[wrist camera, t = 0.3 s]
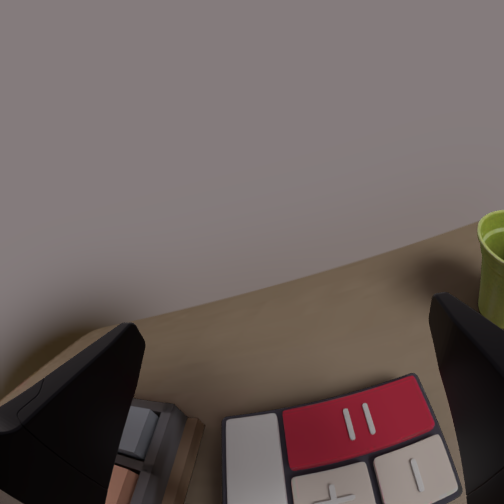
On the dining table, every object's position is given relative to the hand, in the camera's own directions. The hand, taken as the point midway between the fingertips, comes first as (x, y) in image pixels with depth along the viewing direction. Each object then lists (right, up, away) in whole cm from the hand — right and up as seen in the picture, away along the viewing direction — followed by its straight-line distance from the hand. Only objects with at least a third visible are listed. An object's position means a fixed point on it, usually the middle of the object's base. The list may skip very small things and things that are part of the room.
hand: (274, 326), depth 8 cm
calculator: (+6, -14, +8) cm, 17 cm away
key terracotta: (-11, -16, +7) cm, 21 cm away
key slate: (-10, -13, +12) cm, 20 cm away
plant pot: (+25, -4, +14) cm, 29 cm away
